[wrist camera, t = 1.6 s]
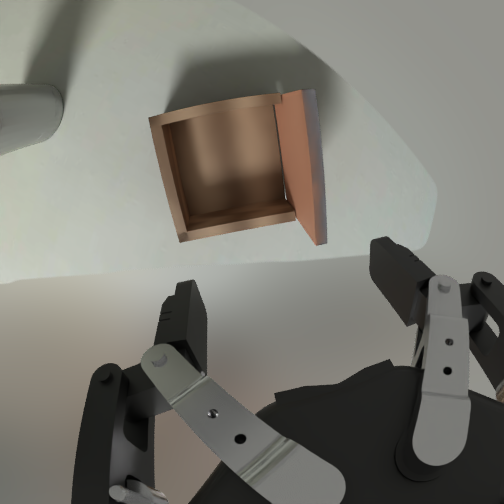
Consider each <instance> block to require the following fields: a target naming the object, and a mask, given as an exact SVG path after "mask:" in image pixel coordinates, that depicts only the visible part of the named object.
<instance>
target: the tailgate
mask: <svg viewBox="0 0 504 504" xmlns="http://www.w3.org/2000/svg"><path fill="white" fill-rule="evenodd" d="M281 101H282V103H280V104H274V105H275V112H276V119H277V126H278V133H279V140H280V148H281V156H282V164H283V172H284V180H285V189H286V198H287V202H288V203H289V204H290V206H291V207H292V208H293V210H294V211H295V216H296V218H297V219H298V221H299V222H300V224H301V225H302V226H303V228H304V229H305V231H306V232H307V234H308V235H309V236H310V238H311V239H312V241H313V242H314V244H315V245H316V246H317V245H322V244H327V217H326V196H325V180H324V166H323V154H322V143H321V133H320V123H319V115H318V106H317V99H316V91H315V89H302V90H297V91H293V92H289V93H286V94H282V95H281Z"/></svg>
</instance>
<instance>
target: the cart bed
mask: <svg viewBox="0 0 504 504" xmlns="http://www.w3.org/2000/svg"><path fill="white" fill-rule="evenodd" d="M280 103H282V101H281V95H280V93H273V94H264V95H256V96H248V97H241V98H235V99H229V100H223V101H217V102H212V103H207V104H202V105H197V106H192V107H188V108H184V109H179V110H175V111H171V112H167V113H164V114H160V115H156V116H153V117H149V123H150V128H151V132H152V137H153V142H154V146H155V150H156V155H157V159H158V163H159V167H160V172H161V176H162V180H163V184H164V188H165V191H166V195H167V199H168V203H169V206H170V210H171V214H172V217H173V221H174V225H175V228H176V232H177V235H178V238H179V242H180V243H181V242H186V241H191V240H196V239H201V238H206V237H211V236H216V235H221V234H226V233H231V232H236V231H242V230H247V229H252V228H258V227H263V226H268V225H274V224H279V223H285V222H290V221H296V219H295V211H294V210H293V208H292V207H291V206H290V204H289V203H288V202H287V200H286V199H285V193H284V184H283V176H282V168H281V160H280V152H279V145H278V137H277V130H276V123H275V116H274V109H273V104H280Z"/></svg>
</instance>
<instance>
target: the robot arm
mask: <svg viewBox="0 0 504 504" xmlns="http://www.w3.org/2000/svg"><path fill="white" fill-rule="evenodd" d="M62 114H63V101H62V97H61V95H60V93H59V91H58V90H57V89H56V88H55V87H53V86H51V85H45V84H0V156H1V155H4V154H6V153H9V152H12V151H15V150H18V149H21V148H24V147H27V146H30V145H33V144H37V143H40V142H43V141H45V140H47V139H49V138H50V137H51V136H52V135H53V134H54V133H55V131H56V130H57V128H58V126H59V124H60V122H61V118H62ZM369 270H370V276H371V278H372V280H373V282H374V283H375V284H376V286H377V287H378V288H379V290H380V291H381V292H382V294H383V295H384V296H385V298H386V299H387V300H388V302H389V303H390V304H391V306H392V307H393V308H394V310H395V311H396V312H397V314H398V315H399V316H400V318H401V319H402V321H403V322H404V323H405V325H406V326H410V325H412V324H415V323H416V324H417V325H418V328H417V331H416V338H415V345H414V351H413V357H412V363H411V367H410V366H393V364H392V362H391V361H390V359H389V360H386V361H383V362H380V363H378V364H375V365H372V366H369V367H366V368H364V369H362V370H361V371H359V372H357V373H356V374H354V375H352V376H351V377H349V378H347V379H346V380H344V381H342V382H340V383H338V384H333V385H318V386H303V387H299V388H295V389H291V390H287V391H282V392H278V393H274V394H275V399H276V402H274V403H271V404H269V405H267V406H266V407H264V408H263V409H262V410H260V411H258V412H257V413H256V414H255V415H254V414H253V413H252V412H250V411H249V410H248V409H247V408H245V407H244V406H243V405H242V404H240V403H239V402H238V401H237V400H236V399H234V398H233V397H232V396H231V395H230V394H228V393H227V392H226V391H225V390H224V389H223V388H222V387H220V386H219V385H218V384H217V383H216V382H214V380H212V379H211V378H210V377H209V376H207V313H206V309H205V306H204V303H203V301H202V298H201V296H200V292H199V290H198V287H197V284H196V282H195V280H189V281H184V282H179V283H177V286H176V290H175V295H173V296H168V297H167V299H166V300H165V302H164V303H163V304H162V308H161V313H160V314H161V315H160V317H159V322H158V326H157V332H156V336H155V341H154V346H152V347H151V348H149V349H148V350H147V351H146V352H145V353H144V354H143V356H142V358H141V363H139V364H137V365H135V366H132V367H130V368H127V369H124V370H122V369H121V368H120V367H119V366H118V365H116V364H113V363H108V364H105V365H102V366H101V367H99V368H98V369H97V370H96V371H95V372H94V373H93V375H92V378H91V381H90V385H89V390H88V394H87V398H86V402H85V407H84V412H83V417H82V422H81V427H80V432H79V438H78V445H77V451H76V459H75V466H74V475H73V486H72V500H71V504H169V502H168V500H167V498H166V497H165V495H164V494H163V493H161V492H160V491H159V490H156V489H155V483H154V482H155V481H154V427H155V425H154V424H155V415H158V414H161V413H163V412H166V411H168V410H171V409H174V410H175V411H176V412H177V413H178V415H179V416H180V417H181V418H182V419H183V420H184V421H185V423H186V424H187V425H188V426H189V427H190V428H191V429H192V430H193V431H194V433H195V434H196V435H197V436H198V437H199V438H200V439H201V440H202V441H203V442H204V443H205V444H206V445H207V446H208V447H209V448H210V449H211V450H212V451H213V452H214V453H215V454H216V455H217V456H218V457H219V458H220V459H221V462H220V463H219V464H218V466H217V467H216V468H215V470H214V471H213V473H212V474H211V475H210V476H209V478H208V479H207V480H206V482H205V483H204V484H203V486H202V487H201V488H200V489H199V491H198V492H197V493H196V495H195V496H194V497H193V498H192V500H191V501H190V502H189V503H188V504H504V285H503V284H502V283H501V282H500V281H499V280H498V279H496V277H495V276H493V275H492V274H490V273H487V272H477V273H475V274H474V276H473V279H472V282H471V283H467V284H458V282H457V281H456V280H455V279H453V278H452V277H450V276H447V275H436V274H435V273H434V272H432V271H431V270H430V269H429V268H428V267H427V266H426V265H425V264H424V263H423V262H422V261H421V260H419V258H418V257H417V256H414V254H413V253H412V252H411V251H410V250H409V249H408V248H406V247H404V246H401V245H399V244H396V243H394V242H393V241H392V240H391V239H390V238H389V237H387V236H385V237H381V238H377V239H373V240H372V241H371V244H370V266H369ZM488 315H490V316H491V317H492V318H493V319H494V321H495V322H496V323H497V325H498V326H499V331H500V333H499V337H497V336H496V335H495V333H494V332H493V331H492V329H491V328H490V327H489V325H488V324H487V323H486V319H487V317H488ZM469 349H470V350H471V352H472V353H473V355H474V356H475V358H476V360H477V361H478V363H479V364H480V366H481V367H482V369H483V371H484V372H485V374H486V375H487V377H488V378H489V380H490V382H491V384H492V385H493V387H494V389H495V391H496V399H497V400H494V399H491V398H489V397H486V396H484V395H481V394H479V393H476V392H474V391H472V390H469V389H468V384H469Z"/></svg>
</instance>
